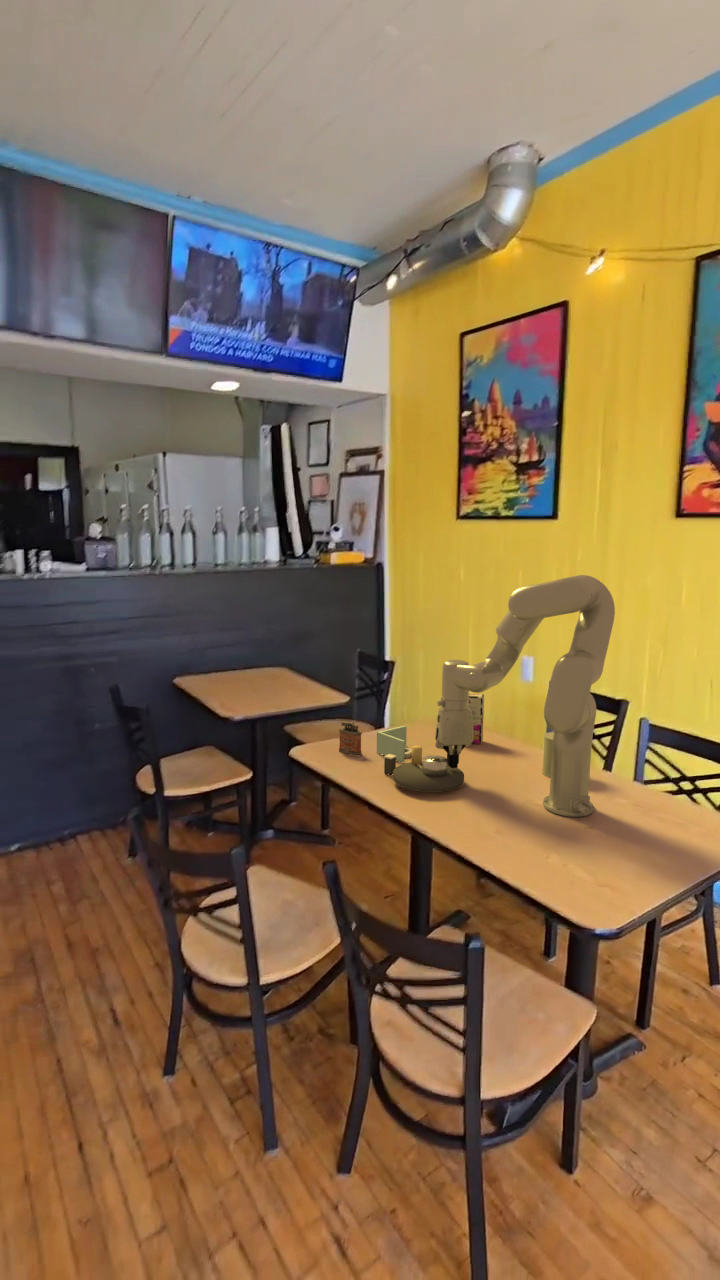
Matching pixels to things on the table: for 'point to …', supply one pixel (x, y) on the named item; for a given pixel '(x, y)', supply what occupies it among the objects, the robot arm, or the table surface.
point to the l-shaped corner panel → (393, 743)
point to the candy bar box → (477, 716)
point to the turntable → (417, 781)
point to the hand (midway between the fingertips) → (452, 766)
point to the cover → (434, 766)
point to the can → (547, 754)
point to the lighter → (350, 739)
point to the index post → (389, 764)
